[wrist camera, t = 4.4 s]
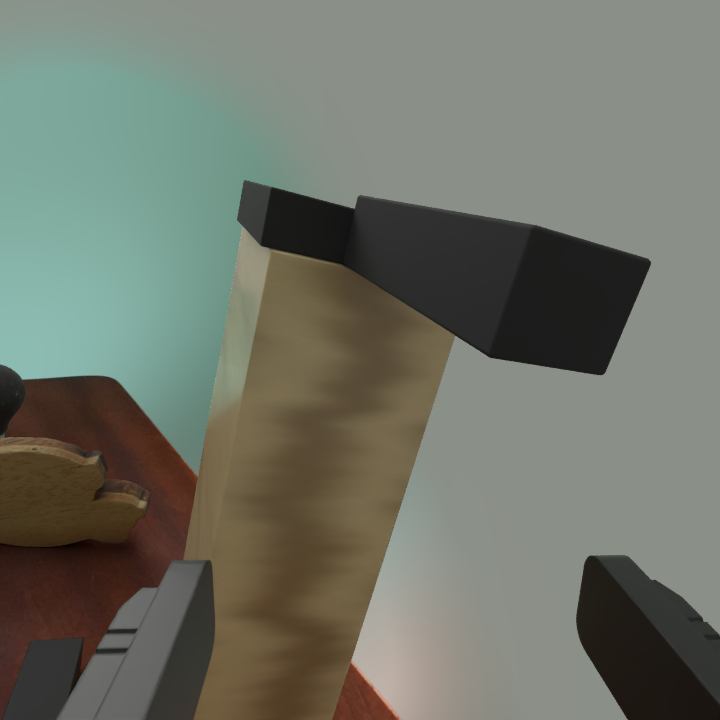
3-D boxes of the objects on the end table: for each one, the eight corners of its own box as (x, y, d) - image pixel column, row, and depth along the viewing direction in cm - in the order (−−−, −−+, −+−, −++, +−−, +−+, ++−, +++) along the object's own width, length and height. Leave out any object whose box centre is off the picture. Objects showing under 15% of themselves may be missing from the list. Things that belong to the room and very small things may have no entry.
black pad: (394, 257, 28) (406, 213, 27) (699, 392, 11) (749, 288, 11) (236, 220, 25) (245, 169, 24) (339, 335, 8) (378, 177, 7)
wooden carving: (146, 523, 47) (159, 431, 44) (142, 556, 43) (156, 457, 40) (-66, 521, 41) (-66, 414, 38) (-94, 559, 37) (-97, 444, 34)
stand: (275, 634, 39) (374, 249, 30) (303, 810, 28) (469, 293, 19) (168, 641, 36) (244, 218, 27) (154, 839, 25) (271, 249, 17)
